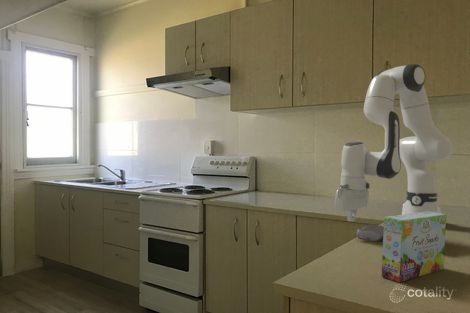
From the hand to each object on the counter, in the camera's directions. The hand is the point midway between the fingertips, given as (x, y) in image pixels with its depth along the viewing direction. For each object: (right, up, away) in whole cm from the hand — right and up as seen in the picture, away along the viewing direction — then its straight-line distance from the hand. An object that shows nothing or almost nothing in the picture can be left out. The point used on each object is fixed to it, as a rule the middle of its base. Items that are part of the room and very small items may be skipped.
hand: (351, 220), depth 145 cm
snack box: (+2, -6, -47) cm, 48 cm away
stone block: (+7, -6, -6) cm, 11 cm away
